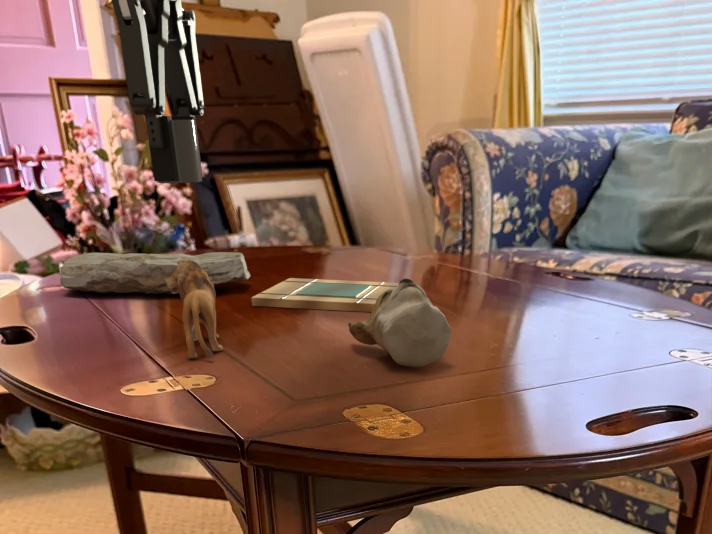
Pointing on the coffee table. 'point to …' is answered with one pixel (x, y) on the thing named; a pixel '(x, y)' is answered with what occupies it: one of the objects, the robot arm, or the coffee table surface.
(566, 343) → the coffee table surface
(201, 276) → the lion figurine
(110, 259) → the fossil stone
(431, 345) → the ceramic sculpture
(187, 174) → the black round canister
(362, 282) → the grid board
